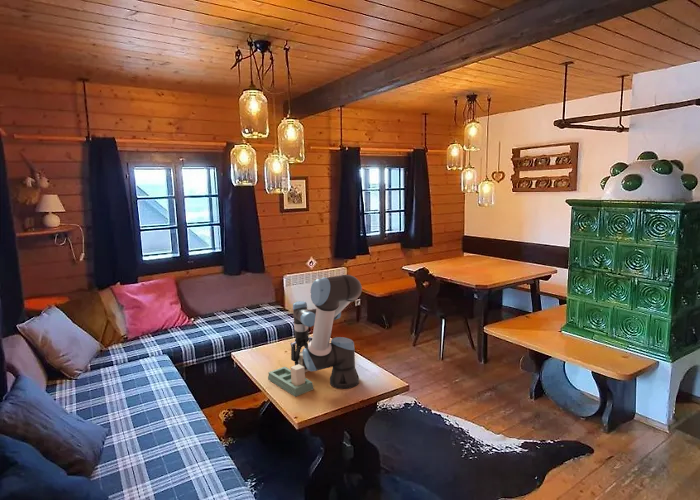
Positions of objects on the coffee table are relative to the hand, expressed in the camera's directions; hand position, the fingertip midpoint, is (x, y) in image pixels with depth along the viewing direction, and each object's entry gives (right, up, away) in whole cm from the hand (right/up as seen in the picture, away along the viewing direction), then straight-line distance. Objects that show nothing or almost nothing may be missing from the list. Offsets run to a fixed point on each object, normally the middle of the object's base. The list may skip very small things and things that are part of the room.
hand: (303, 369), depth 241 cm
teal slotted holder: (-5, -3, -16) cm, 17 cm away
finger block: (0, -1, 0) cm, 1 cm away
